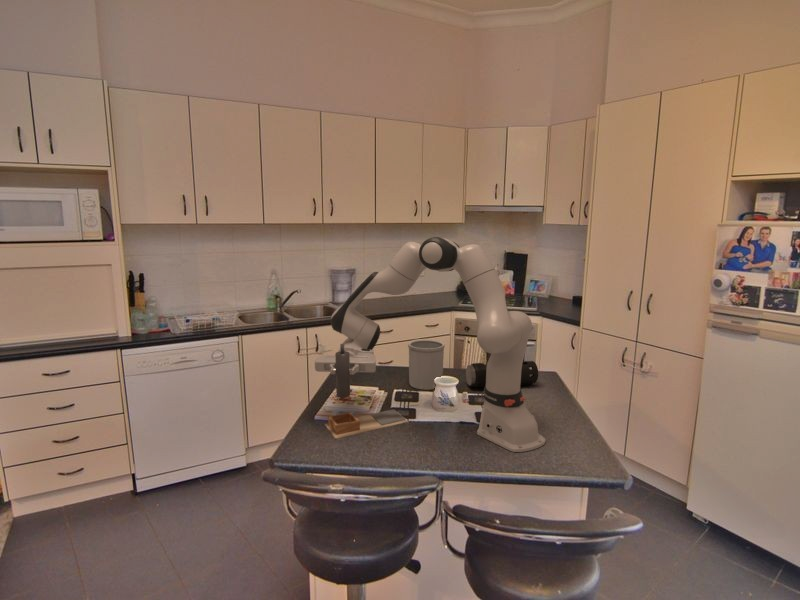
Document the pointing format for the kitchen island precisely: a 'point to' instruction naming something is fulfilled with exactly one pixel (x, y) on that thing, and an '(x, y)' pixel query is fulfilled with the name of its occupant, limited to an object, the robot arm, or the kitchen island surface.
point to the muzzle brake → (478, 374)
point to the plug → (342, 373)
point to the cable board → (362, 422)
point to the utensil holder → (425, 362)
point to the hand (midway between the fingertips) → (342, 372)
